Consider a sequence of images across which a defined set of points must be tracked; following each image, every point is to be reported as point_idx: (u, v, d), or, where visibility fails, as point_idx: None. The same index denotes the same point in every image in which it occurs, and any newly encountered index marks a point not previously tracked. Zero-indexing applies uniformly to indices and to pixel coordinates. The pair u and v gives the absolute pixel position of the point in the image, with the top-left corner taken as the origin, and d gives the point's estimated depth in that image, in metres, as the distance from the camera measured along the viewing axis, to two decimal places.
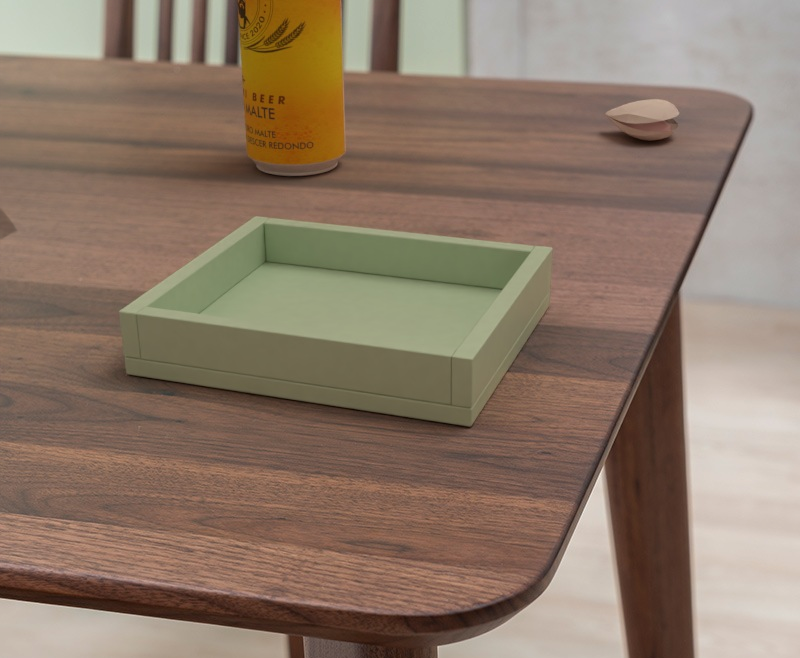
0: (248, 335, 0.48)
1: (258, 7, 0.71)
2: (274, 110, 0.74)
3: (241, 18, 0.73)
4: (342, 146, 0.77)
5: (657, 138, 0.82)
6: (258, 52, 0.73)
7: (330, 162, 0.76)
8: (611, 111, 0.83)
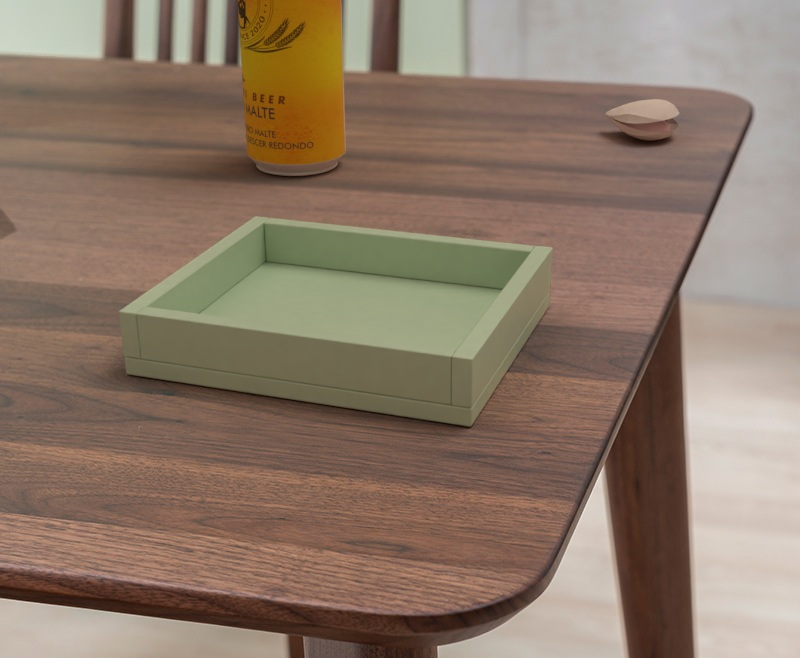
0: (248, 335, 0.48)
1: (258, 7, 0.71)
2: (274, 110, 0.74)
3: (241, 18, 0.73)
4: (342, 146, 0.77)
5: (657, 138, 0.82)
6: (258, 52, 0.73)
7: (330, 162, 0.76)
8: (611, 111, 0.83)
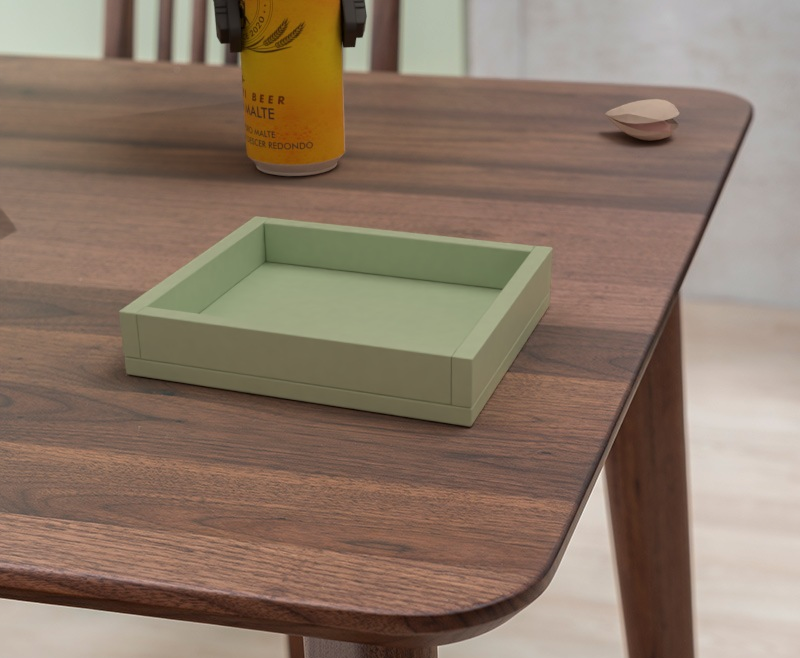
0: (248, 335, 0.48)
1: (258, 8, 0.71)
2: (274, 111, 0.74)
3: (241, 18, 0.73)
4: (342, 147, 0.77)
5: (657, 138, 0.82)
6: (258, 52, 0.73)
7: (329, 162, 0.76)
8: (611, 111, 0.83)
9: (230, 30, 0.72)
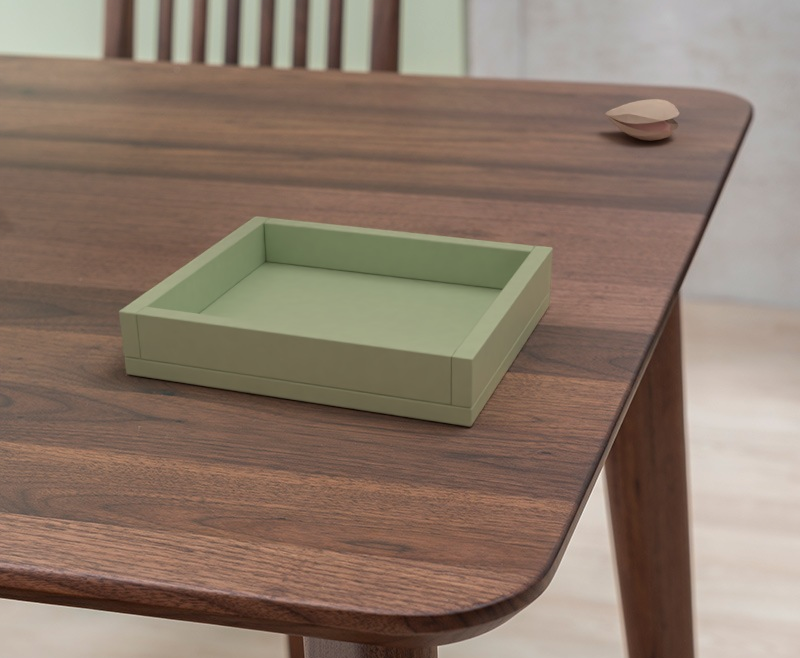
0: (248, 335, 0.48)
1: None
2: None
3: None
4: None
5: (657, 138, 0.82)
6: None
7: None
8: (611, 111, 0.83)
9: None
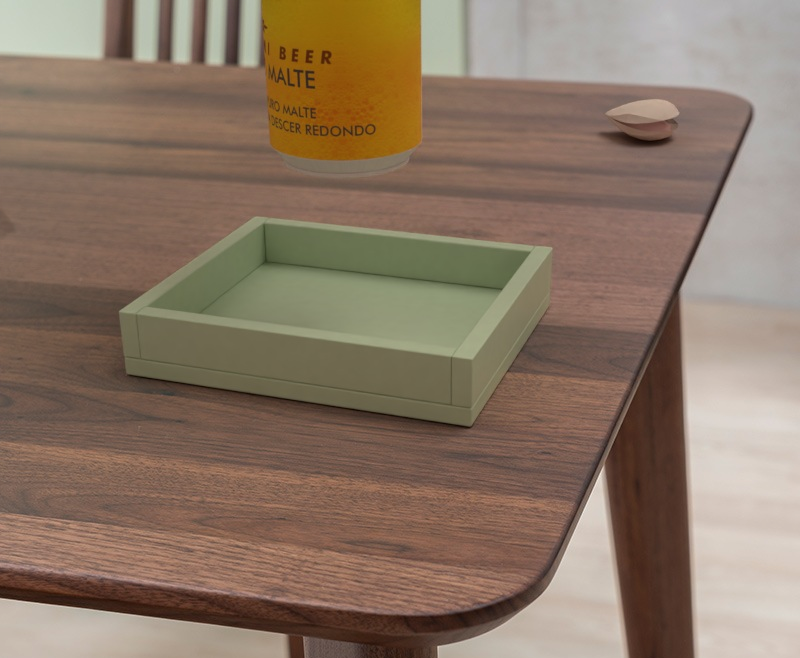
0: (248, 335, 0.48)
1: None
2: (315, 75, 0.46)
3: None
4: (419, 132, 0.49)
5: (657, 138, 0.82)
6: None
7: (400, 157, 0.49)
8: (611, 111, 0.83)
9: None
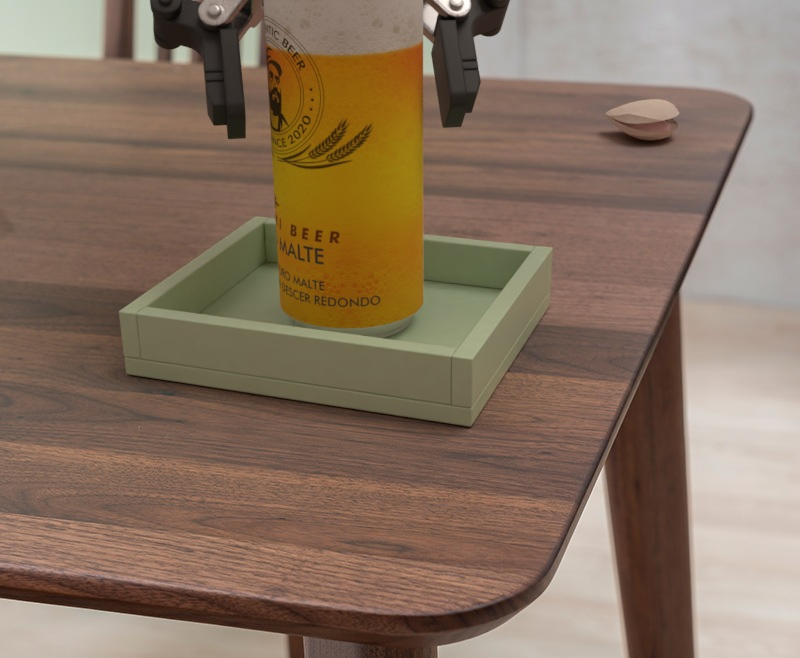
0: (248, 335, 0.48)
1: (301, 103, 0.47)
2: (323, 252, 0.49)
3: (274, 116, 0.49)
4: (420, 296, 0.52)
5: (657, 138, 0.82)
6: (300, 168, 0.48)
7: (402, 322, 0.52)
8: (611, 111, 0.83)
9: (228, 108, 0.47)
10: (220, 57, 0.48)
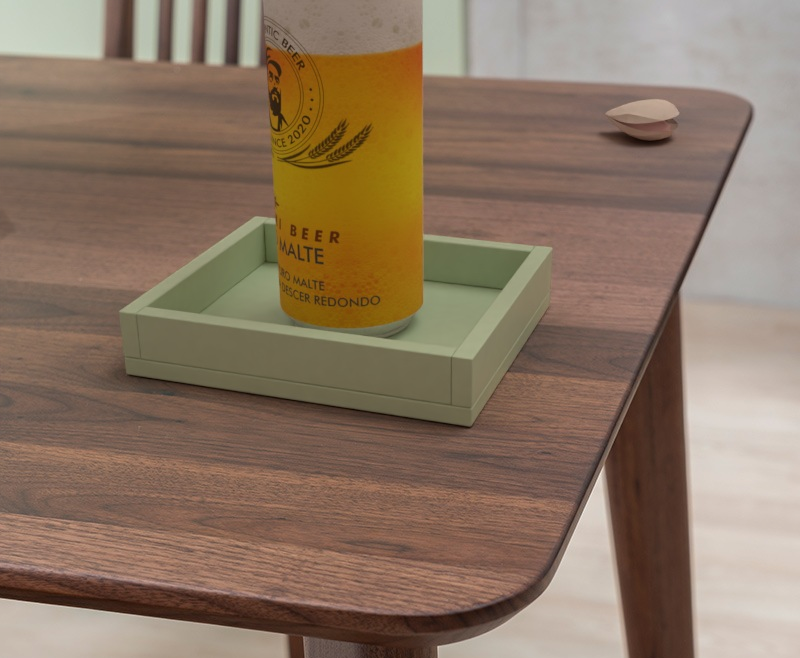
0: (248, 335, 0.48)
1: (301, 103, 0.47)
2: (323, 252, 0.49)
3: (274, 116, 0.49)
4: (420, 296, 0.52)
5: (657, 138, 0.82)
6: (300, 168, 0.48)
7: (402, 322, 0.52)
8: (611, 111, 0.83)
9: None
10: None
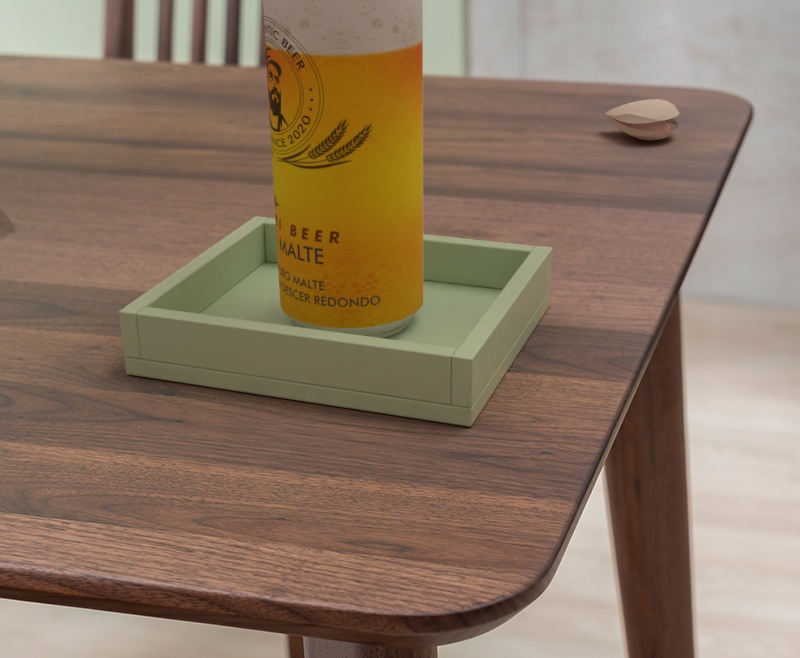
0: (248, 335, 0.48)
1: (301, 103, 0.47)
2: (323, 252, 0.49)
3: (274, 116, 0.49)
4: (420, 296, 0.52)
5: (657, 138, 0.82)
6: (300, 168, 0.48)
7: (402, 322, 0.52)
8: (611, 111, 0.83)
9: None
10: None
